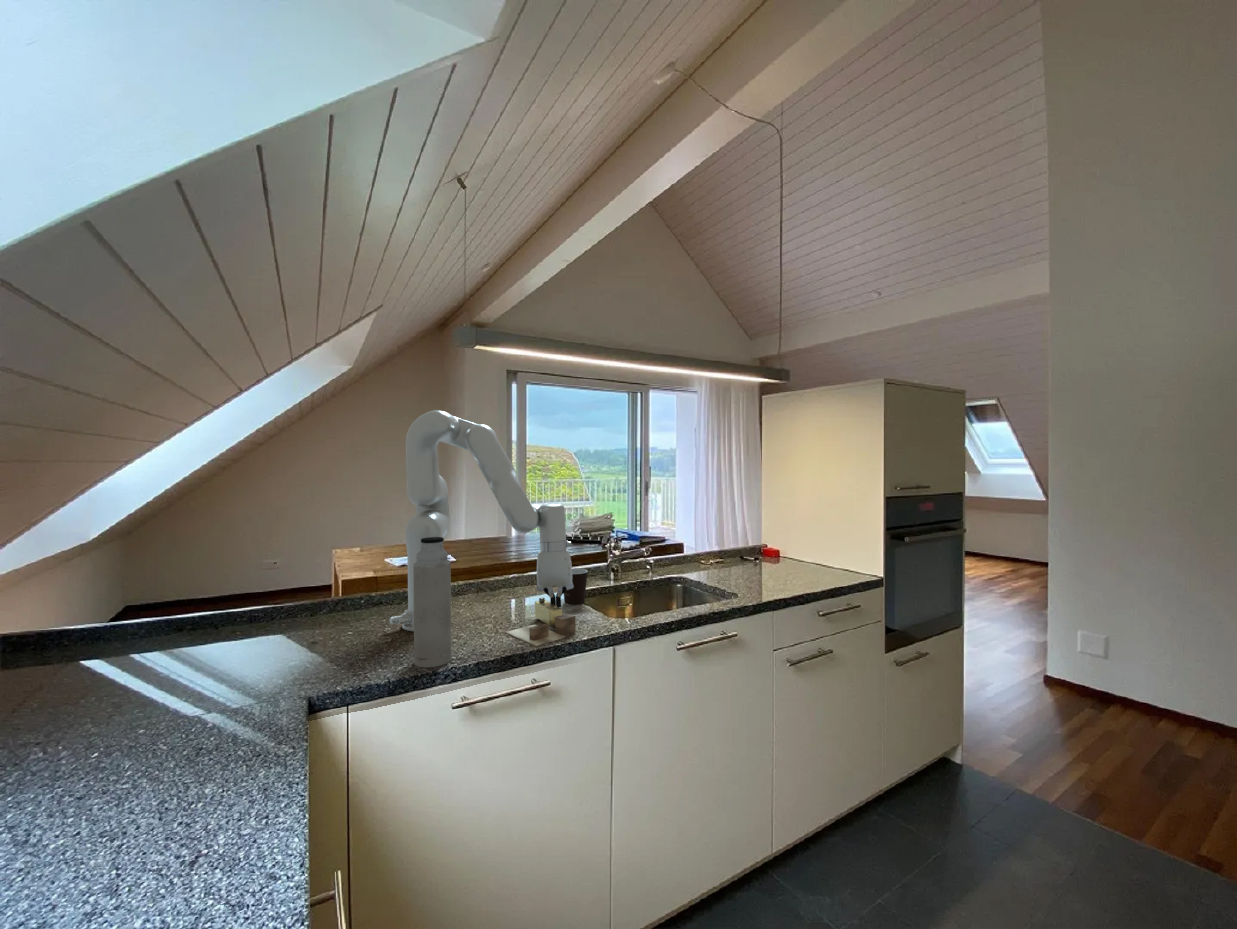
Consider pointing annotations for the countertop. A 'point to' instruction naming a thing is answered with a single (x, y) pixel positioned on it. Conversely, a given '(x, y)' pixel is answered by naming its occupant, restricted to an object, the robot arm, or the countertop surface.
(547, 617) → the lock bar
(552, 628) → the beige square plate
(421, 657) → the thermos bottle
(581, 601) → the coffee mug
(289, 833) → the countertop surface
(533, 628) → the block
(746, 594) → the countertop surface
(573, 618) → the block
